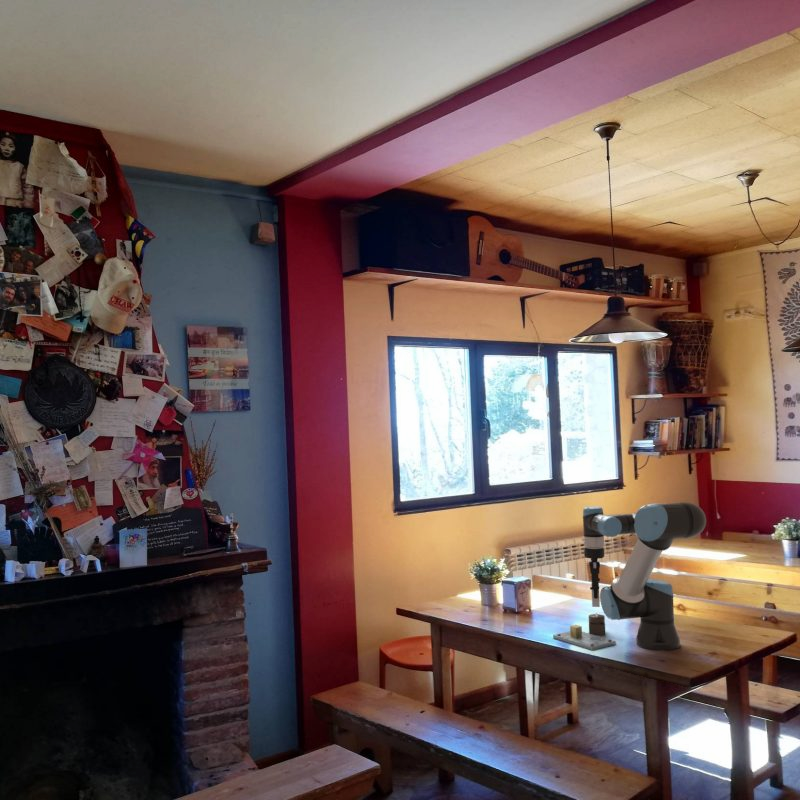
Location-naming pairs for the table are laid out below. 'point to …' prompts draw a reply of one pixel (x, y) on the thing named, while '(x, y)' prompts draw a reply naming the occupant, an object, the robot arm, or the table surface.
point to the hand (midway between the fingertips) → (595, 602)
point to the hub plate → (583, 638)
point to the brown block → (597, 624)
